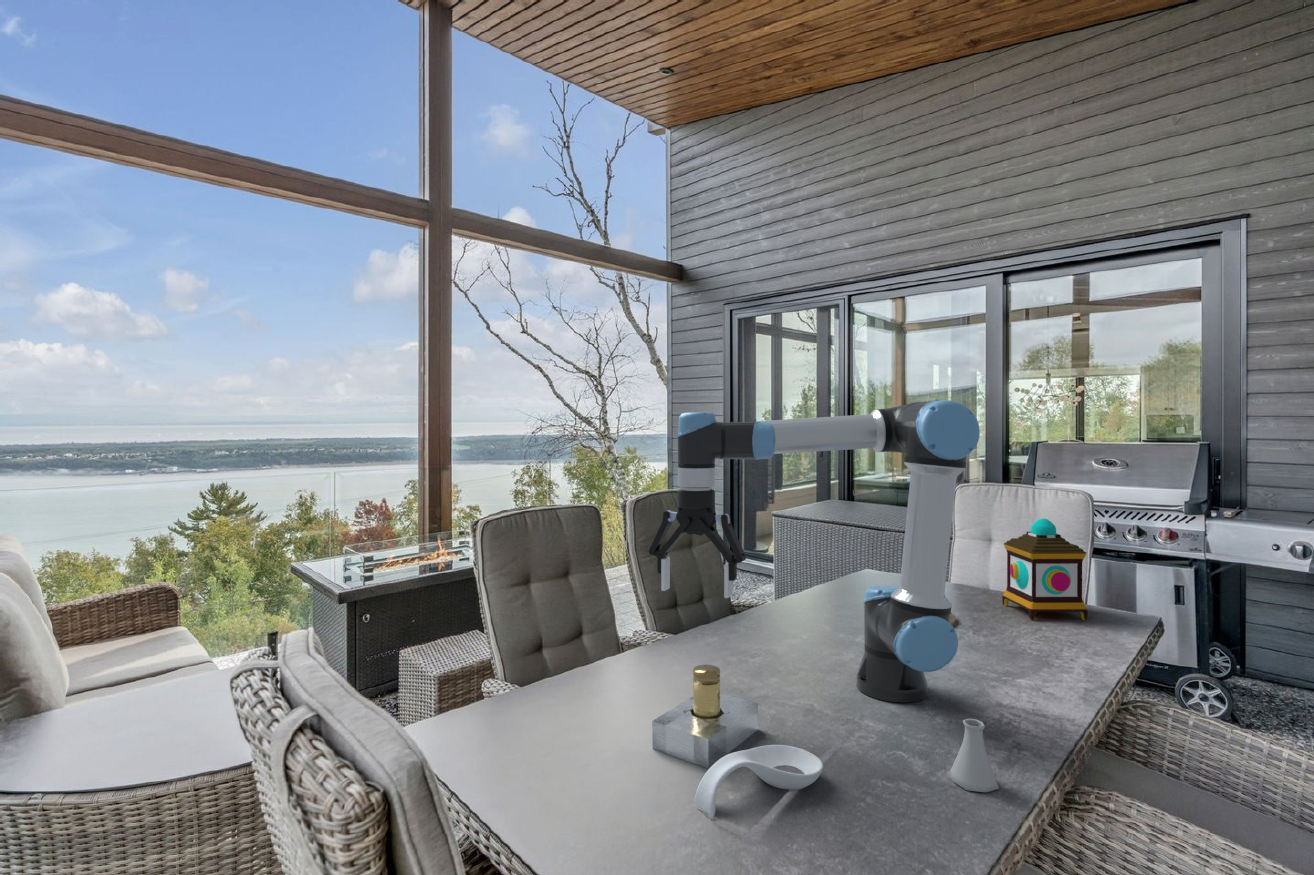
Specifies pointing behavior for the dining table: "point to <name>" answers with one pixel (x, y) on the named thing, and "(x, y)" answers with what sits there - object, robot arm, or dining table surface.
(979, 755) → the flask
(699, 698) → the gold capped cylinder
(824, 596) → the dining table surface
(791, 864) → the dining table surface
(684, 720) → the bore housing
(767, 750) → the spoon rest
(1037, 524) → the decorative lantern
